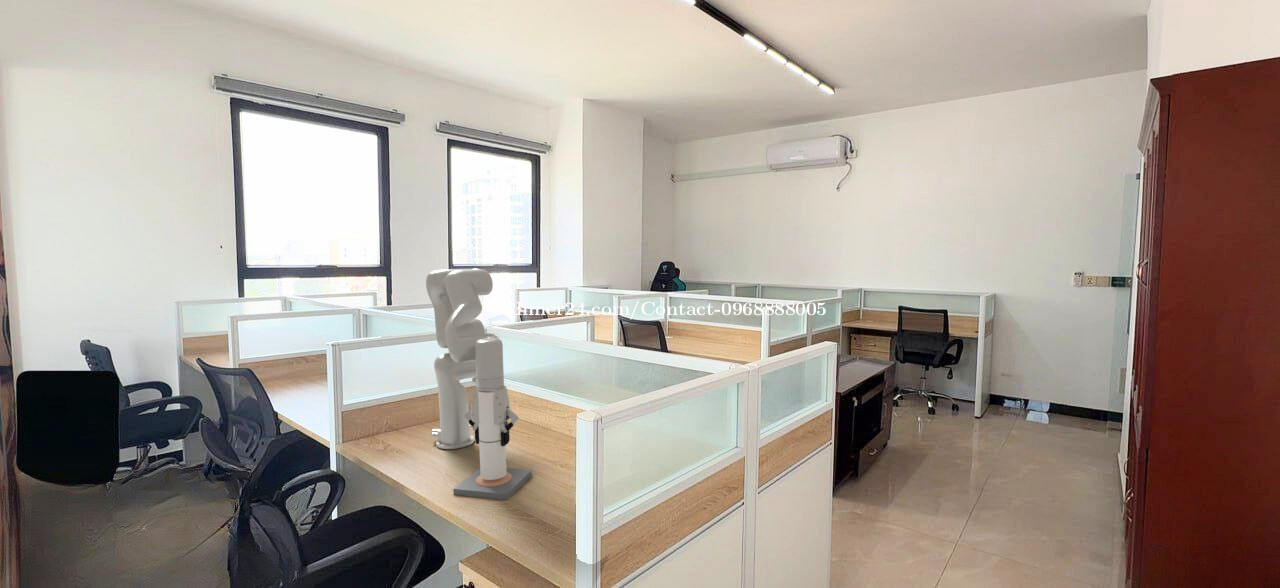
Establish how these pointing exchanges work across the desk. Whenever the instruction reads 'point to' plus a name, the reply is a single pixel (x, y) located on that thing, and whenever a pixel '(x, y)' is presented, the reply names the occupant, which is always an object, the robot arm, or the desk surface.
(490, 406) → the cylindrical container
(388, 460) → the desk surface
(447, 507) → the desk surface
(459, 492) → the board
